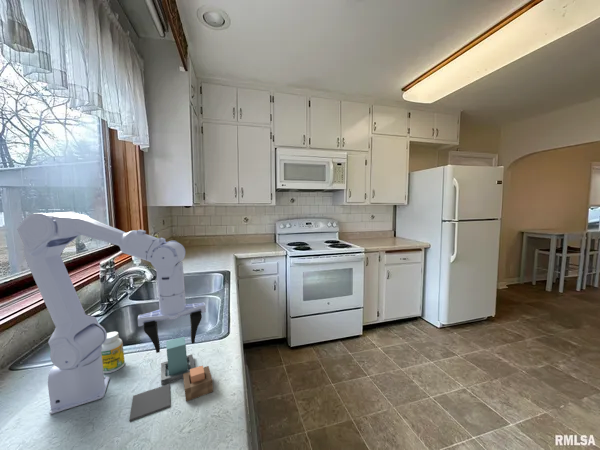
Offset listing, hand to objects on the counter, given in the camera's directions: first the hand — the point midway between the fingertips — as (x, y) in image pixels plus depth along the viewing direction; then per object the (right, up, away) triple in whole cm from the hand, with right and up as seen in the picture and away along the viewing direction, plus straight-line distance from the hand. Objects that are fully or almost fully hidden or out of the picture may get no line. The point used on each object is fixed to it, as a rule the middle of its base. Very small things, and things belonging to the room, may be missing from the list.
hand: (176, 345), depth 62 cm
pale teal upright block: (-3, -10, +7) cm, 12 cm away
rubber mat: (-4, -11, -4) cm, 12 cm away
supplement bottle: (-22, -11, +9) cm, 26 cm away
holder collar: (-3, -10, +7) cm, 12 cm away
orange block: (+6, -10, 0) cm, 11 cm away
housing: (+6, -10, 0) cm, 12 cm away
